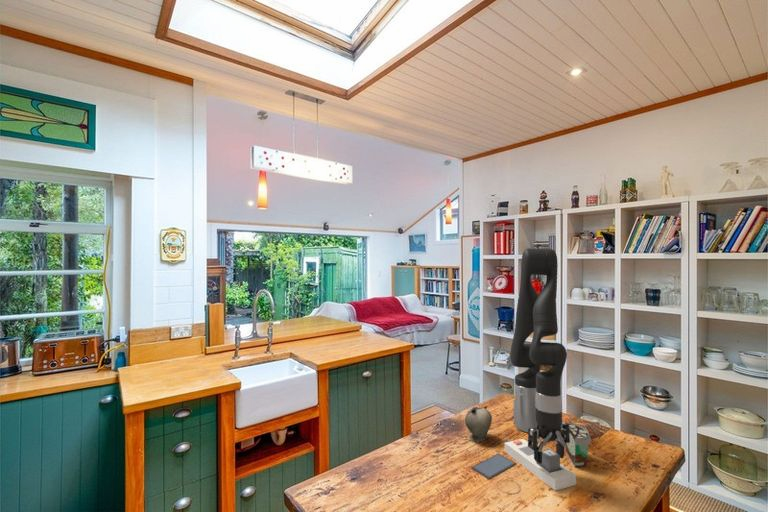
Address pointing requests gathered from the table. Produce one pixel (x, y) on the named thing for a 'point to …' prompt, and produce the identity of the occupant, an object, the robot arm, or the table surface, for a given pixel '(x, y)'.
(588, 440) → the food container
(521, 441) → the power strip
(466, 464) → the table surface
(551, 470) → the block
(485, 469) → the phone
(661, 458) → the table surface
